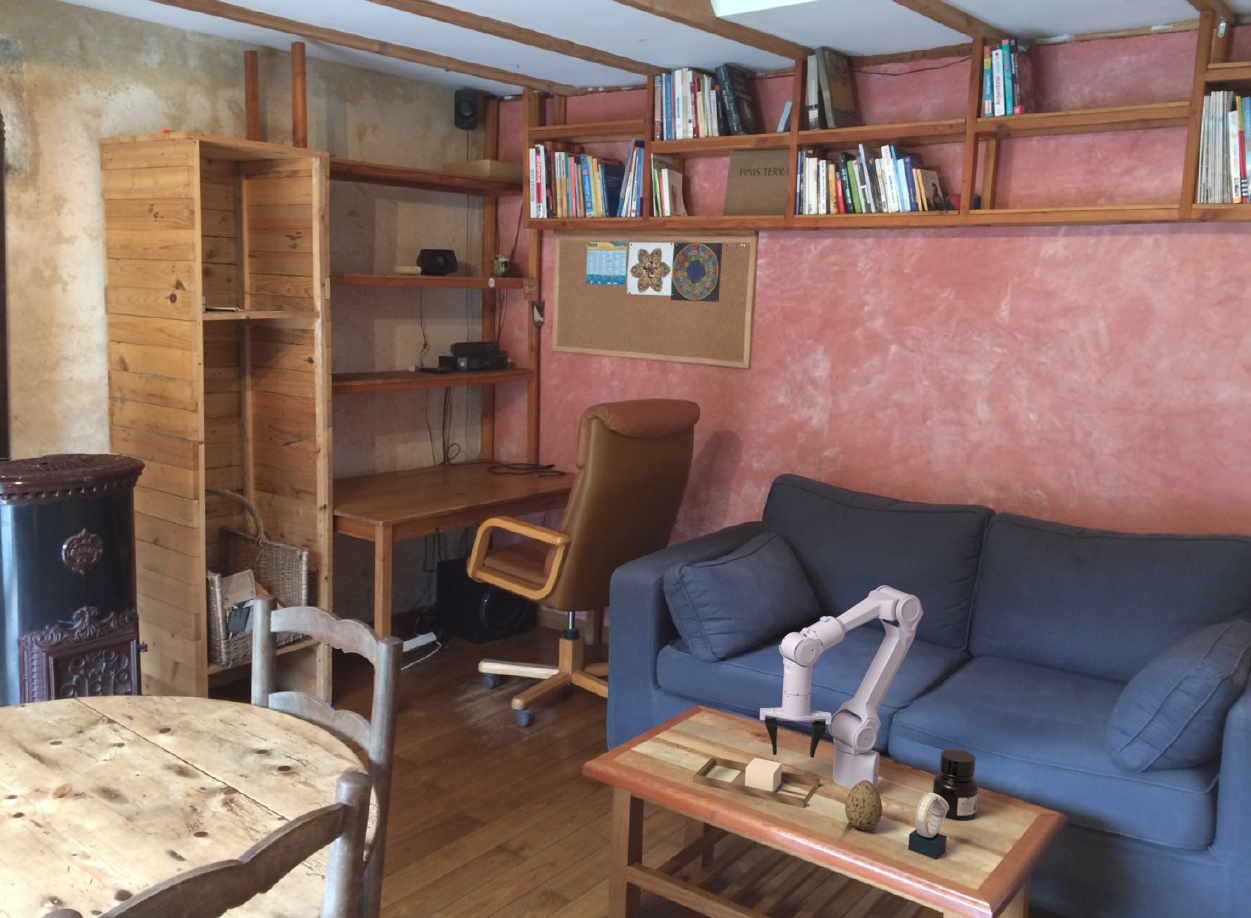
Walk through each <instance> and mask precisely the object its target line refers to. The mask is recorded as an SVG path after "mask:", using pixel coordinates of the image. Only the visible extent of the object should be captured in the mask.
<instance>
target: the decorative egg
mask: <svg viewBox="0 0 1251 918" xmlns="http://www.w3.org/2000/svg"><path fill="white" fill-rule="evenodd" d="M844 811H845V812H844V813H845V814H846V818H847V820H848V821H849V823H850V825H852V826H853V827H854V828H855V829H857V830H861V831H867V830H871V829H873V828H875V827H876V826H877V825H878V824H879V822H880V821H881V819H882V815H883V803H882V799H881V796H880V793H879V791H878V790H877V788H875V787H874V786H873V785H872V783H871V782H869V781H868V780H862V781H860V782H858V783H857V784H856V785H855V786H854V787H853V788H851V789H850V791H849V793H848V794H847V797H846V800H845V805H844Z"/></svg>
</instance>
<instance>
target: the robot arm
mask: <svg viewBox="0 0 1251 918" xmlns="http://www.w3.org/2000/svg"><path fill="white" fill-rule="evenodd" d="M923 615H924V611H923V607H922V604H921V601H920V599H919V598H918V597H917V596H916V595H914V594H909V593H907V592H903V591H901V590H898V589H896V588H893V587H891V586H889V585H885V584H884V585H880V586H879V587H877V588H876V589H873V590H871V591H870V592H869V593H868V595H867V597H866V598H865V599H863V600H862V601H860V602H858V603H857V604H855V605H854V606H852V607H851V608H850V609H848V610H846V611H845V612H843V613H842V614H841V615H839V616H837V617H834V616H832V615H831V616H830V615H828V616H824V615H823V616H821V617H820V618H819V621H816V623H813V624H811V625H810V626H808V627H804V628H802V630H801V631H799V632H797V631H796V632H795V631H793V632H789V633H788V634H787V635H786V636H784V637H783V639H782V641H781V644H779V645H778V649H779V653H780V655H781V656H782V658H783V659H782V661H783V662H782V663H783V682H782V700H781V703H782V704H781V707H760V708H759V720H760V721H764V722H765V727H766V730H767V733H768V736H769V738H770V742H771V746H772V755H773V756H778V755H777V752H778V750H777V749H778V748H777V747H778V745H777V739H778V737H777V736H778V728H779V727H778V721H786V722H787V721H789V722H801V723H802V722H805V723H811V736H810V737H811V740H810V747H809V755H810V756H809V757H810V758H813V759H814V758H815V753H816V750H817V747H818V744H819V742H820V740H821V738H822V737H823V736H824V734H825V733H826V729H827V728H828V732H829V734H830V735H831V736H832V738H833V740H832V742H833V743H834V745H833V746H834V747H833V748H834V749H833V763H832V764H833V765H832V781H833V782H834V784H837V785H839V786H841V787H845V788H851V789H852V788H853V787H854V786H855V785H856V784H857V783H858V782H860V781H862V780H868V781H869V782H871V783H872V785H873V786H874V787H875V788H876V789H877V788H878V787H879V772H880V771H879V770H880V752H878V751H876V750H872V749H873V748H874V746H875V745H876V743H877V740H878V733H879V730H880V727H881V726H882V723H881V719H880V717H879V715H878V710H879V708H880V706H881V704H882V702H883V700H884V698H885V696H886V694H887V692H888V691H889V688H890V686H891V685H892V682H893V681H894V679H895V677H896V675H897V673H898V671H899V669H900V667H901V666H902V663H903V661H904V659H905V658H906V655H907V653H908V651H909V649H910V647H911V645H913V641H914V639H915V636H916V631H917V626H918V624H919V622H920V621H921V618H922V617H923ZM874 619H878V620H880V622H881V623H882V625H883V628H884V630H885V636H884V638H883V640H882V642H881V644H880V646H879V649H878V650H877V652H876V653H875V656H874V658H873V660H872V662H871V663H870V665H869V667H868V670H867V672H866V673H865V674H864V675H865V676H864V677H863V679H862V681H861V683H860V685H859V687H858V688H857V691H856V693H855V695H854V697H853V698H851V699H849V700H847V701H844V702H843V703H841V705H840V707H839V709H838V710H837V711H836V712H834V713H833V714H832V713H831V712H827V711H821V710H816V709H815V710H814V709H811V694H812V681H813V680H812V677H813V676H812V675H813V665H814V664H815V663H817V661H818V659H819V657H820V655H822V654H823V652H825V651H826V650H828V649H831V648H833V646H835V645H837V644H839V643H841V642H842V641H843V640H844V638H845V635H846V633H847V632H848V631H851V630H854V629H855V628H858V627H859V626H861V625H863V624H865V623H867V622H870V621H872V620H874ZM859 717H860V718H859ZM827 725H828V727H827Z"/></svg>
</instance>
